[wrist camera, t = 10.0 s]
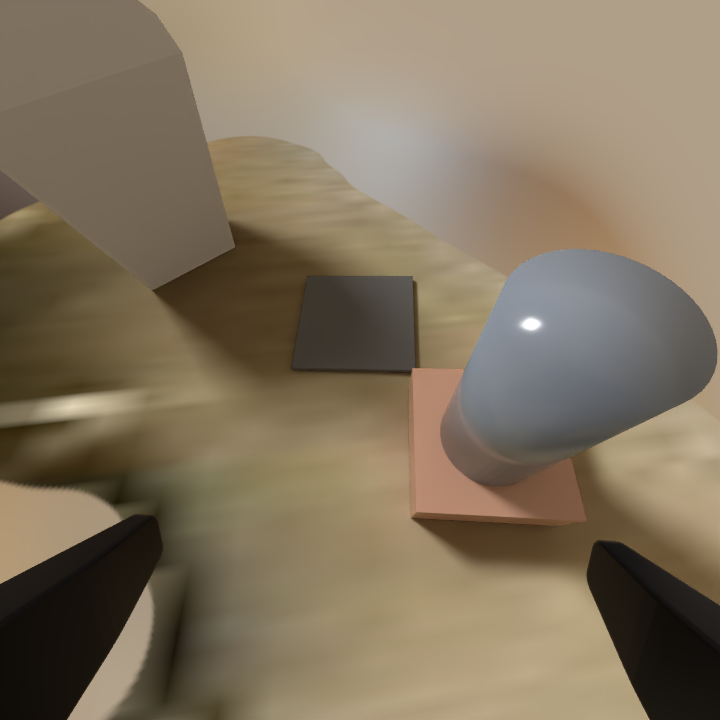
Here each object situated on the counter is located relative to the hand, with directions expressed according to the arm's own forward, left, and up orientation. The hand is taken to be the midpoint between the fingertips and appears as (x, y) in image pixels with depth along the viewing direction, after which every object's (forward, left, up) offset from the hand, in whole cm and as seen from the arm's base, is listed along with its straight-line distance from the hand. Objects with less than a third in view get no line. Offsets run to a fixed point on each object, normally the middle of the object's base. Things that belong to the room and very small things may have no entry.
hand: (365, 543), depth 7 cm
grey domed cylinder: (+5, -6, -10) cm, 13 cm away
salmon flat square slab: (+6, -6, -14) cm, 16 cm away
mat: (+16, +2, -14) cm, 21 cm away
